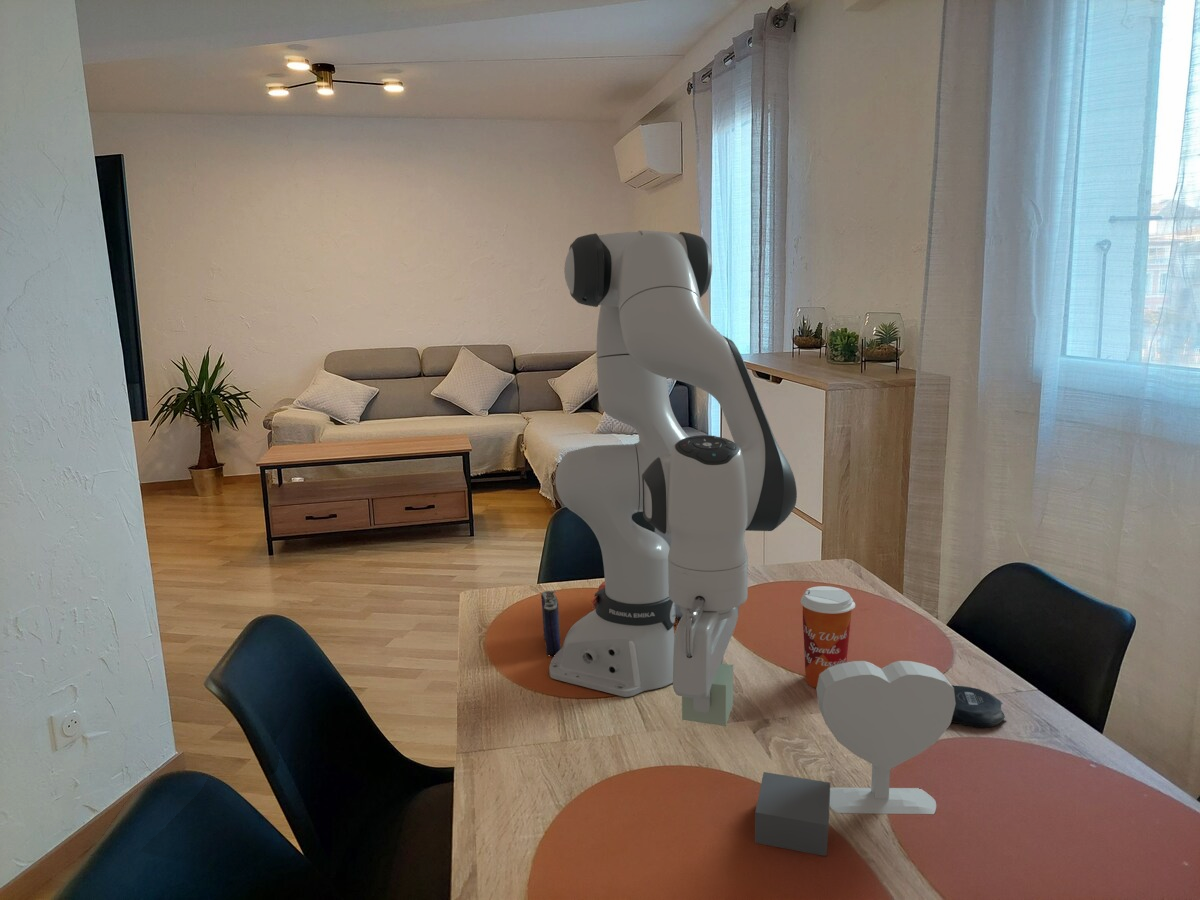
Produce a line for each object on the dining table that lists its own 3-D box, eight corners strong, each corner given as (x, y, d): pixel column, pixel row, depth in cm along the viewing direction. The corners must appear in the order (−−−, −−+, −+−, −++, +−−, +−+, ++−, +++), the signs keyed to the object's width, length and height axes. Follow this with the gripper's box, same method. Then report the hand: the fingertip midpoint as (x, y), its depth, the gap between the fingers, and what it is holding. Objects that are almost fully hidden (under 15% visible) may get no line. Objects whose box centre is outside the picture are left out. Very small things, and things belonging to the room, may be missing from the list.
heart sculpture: (936, 788, 100) (944, 657, 97) (950, 814, 96) (960, 677, 92) (812, 787, 101) (815, 658, 98) (820, 812, 96) (824, 677, 93)
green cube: (682, 719, 90) (681, 679, 89) (691, 698, 95) (691, 659, 94) (725, 726, 89) (725, 685, 88) (733, 704, 93) (733, 665, 92)
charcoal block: (754, 842, 92) (755, 812, 91) (763, 800, 99) (763, 771, 98) (826, 856, 89) (827, 825, 88) (829, 811, 97) (830, 782, 96)
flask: (542, 635, 148) (540, 581, 146) (558, 634, 148) (556, 580, 146) (546, 658, 139) (543, 601, 137) (562, 656, 140) (560, 599, 137)
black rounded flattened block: (901, 734, 116) (1013, 731, 112) (896, 697, 115) (1008, 693, 111) (894, 709, 125) (997, 706, 121) (889, 675, 124) (993, 670, 120)
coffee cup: (795, 689, 126) (796, 601, 123) (802, 666, 133) (804, 582, 130) (849, 698, 123) (853, 607, 120) (854, 673, 130) (857, 588, 127)
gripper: (718, 622, 78) (718, 748, 81) (749, 555, 97) (748, 659, 100) (656, 615, 80) (659, 739, 83) (698, 551, 99) (699, 653, 102)
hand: (708, 694), depth 91 cm, fingers closed on green cube, 5 cm apart
